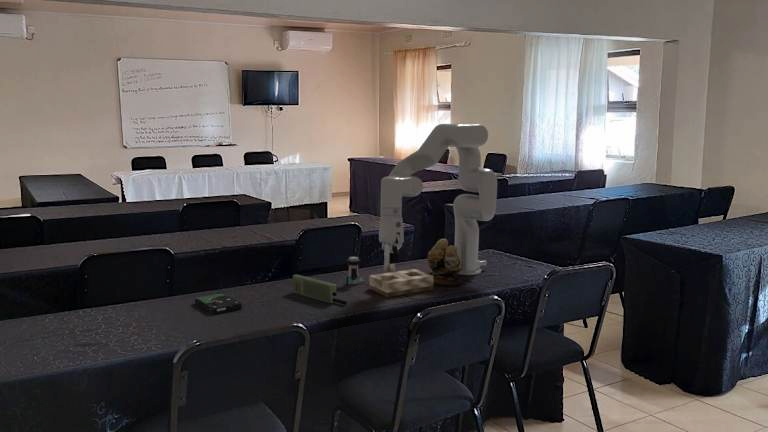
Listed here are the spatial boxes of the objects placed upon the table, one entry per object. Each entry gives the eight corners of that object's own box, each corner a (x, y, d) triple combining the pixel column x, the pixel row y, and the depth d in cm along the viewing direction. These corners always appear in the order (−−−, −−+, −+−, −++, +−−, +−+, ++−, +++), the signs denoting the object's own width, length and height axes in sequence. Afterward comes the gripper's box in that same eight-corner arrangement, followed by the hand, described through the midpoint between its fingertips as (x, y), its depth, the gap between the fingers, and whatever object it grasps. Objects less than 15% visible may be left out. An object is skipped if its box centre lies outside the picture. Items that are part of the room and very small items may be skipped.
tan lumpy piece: (471, 284, 251) (472, 240, 248) (447, 290, 244) (449, 244, 241) (439, 274, 265) (440, 232, 262) (416, 279, 258) (417, 235, 255)
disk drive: (242, 311, 217) (223, 299, 228) (242, 302, 216) (222, 291, 228) (213, 316, 211) (194, 304, 222) (212, 308, 210) (194, 296, 221)
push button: (359, 280, 254) (359, 255, 252) (366, 284, 249) (366, 258, 248) (343, 282, 250) (344, 256, 249) (350, 286, 246) (350, 259, 244)
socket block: (414, 281, 253) (414, 269, 252) (433, 289, 243) (433, 276, 242) (369, 288, 243) (369, 275, 242) (386, 297, 233) (387, 283, 232)
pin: (391, 268, 242) (391, 241, 240) (397, 271, 238) (397, 243, 237) (381, 269, 240) (382, 242, 238) (387, 272, 236) (388, 244, 235)
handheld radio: (298, 291, 239) (349, 305, 223) (291, 293, 237) (342, 308, 221) (298, 273, 238) (349, 286, 222) (291, 275, 235) (342, 288, 219)
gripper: (413, 214, 230) (411, 265, 233) (387, 207, 245) (386, 256, 247) (394, 215, 227) (393, 268, 230) (369, 209, 241) (369, 258, 244)
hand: (389, 261), depth 238 cm, fingers closed on pin, 4 cm apart
